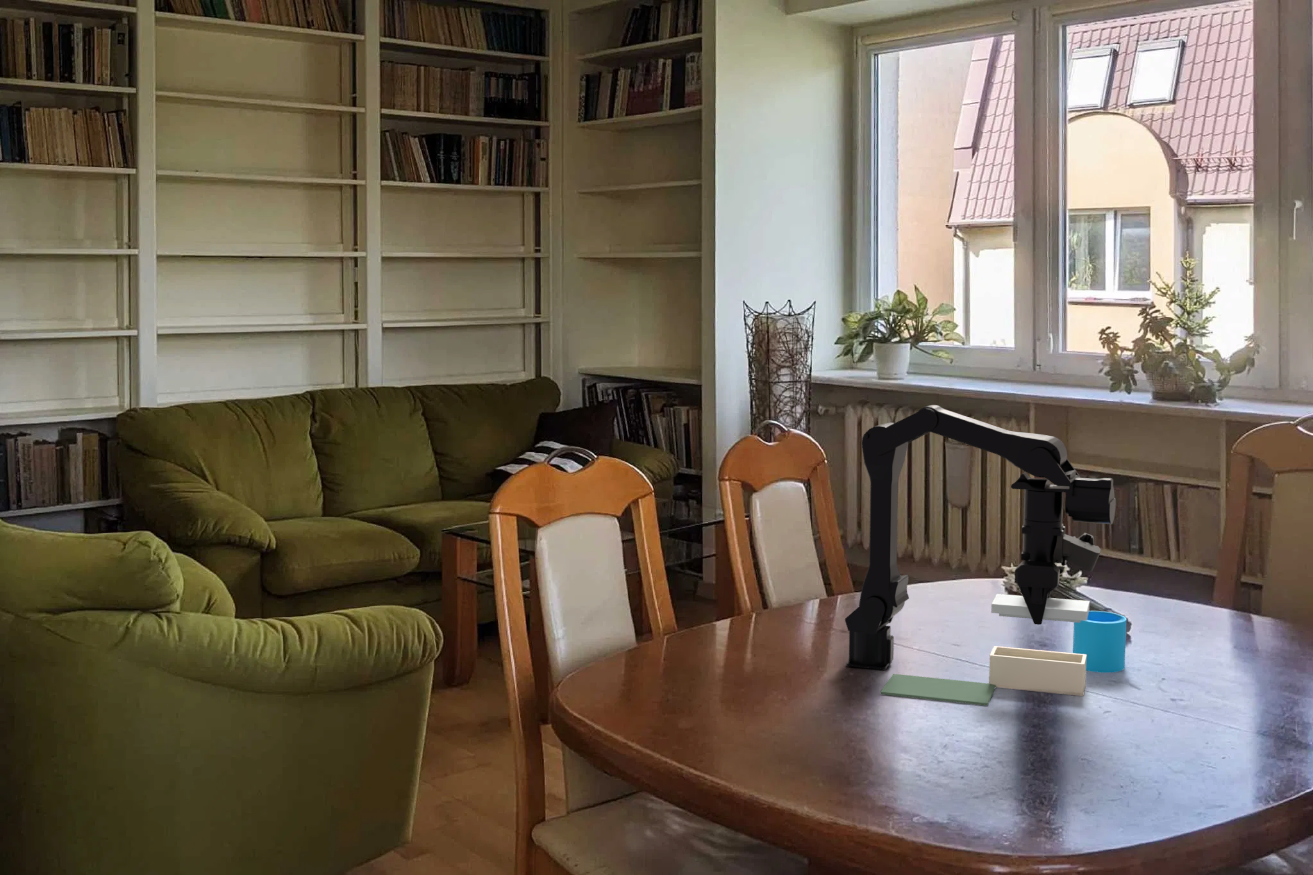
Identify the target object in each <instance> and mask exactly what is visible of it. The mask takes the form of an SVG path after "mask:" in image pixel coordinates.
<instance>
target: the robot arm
mask: <svg viewBox="0 0 1313 875" xmlns="http://www.w3.org/2000/svg"><path fill="white" fill-rule="evenodd" d="M929 433H932V434H935V435H937V436H941V437H945V438H946V439H947V438H948V439H950V440H952V441H953V440H954V441H956V442H960V443H962V444H965V445H967V446H970V447H974V448H977V449H979V450H983V451H985V452H989V453H991V454H994V455H997V456H1000V457H1001V458H1003V459H1005V460H1006V461H1008V462H1009V463H1010V464H1012V465H1013V466H1015V467H1016V468H1019V469H1020V470H1022V471H1024V472H1023V473H1021V474H1020V476H1019V477H1018V479H1017V480H1015V482H1013V483H1012V484H1010V488H1011V489H1013V490H1023V491H1024V494H1023V495H1024V496H1023V498H1024V500H1023V524H1022V527H1021V534H1022V551H1021V554H1020V558H1021V559H1020V560H1021V562H1020V563H1019V564H1018V565H1017V566H1016V568H1015V570H1014V583H1015V584H1016V585H1017V586H1018V588H1019V591H1020V593H1021V596H1023V598H1024V600H1025V603H1026V605H1027V607H1028V610H1029V612H1030V615H1031V617H1032V619H1031V620H1032V622H1033V624H1034V625H1037V626H1038V625H1042V623H1043V616H1044V611H1045V607H1046V602H1047V598H1051V593H1052V591H1054V589H1056V588H1058V586H1059V584H1060V576H1061V574H1062V573H1063V572H1064V571H1065V566H1066V564H1067V562H1068V563H1070V564H1073V565H1075V566H1078V567H1081V569H1082V570H1083V571H1087V572H1093V570H1094V568H1095V566H1096V564H1097V561H1098V559H1099V556H1100V554H1101V551H1102V549H1101V548H1100V547H1099V545H1095V538H1094V535H1092V534H1089V533H1086V532H1083V534H1081V535H1080V536H1078V537H1077V536H1075V535H1074V536H1071V535H1068V534H1066V526H1064V523H1063V516H1064V515H1063V514H1064V513H1063V512H1064V511H1065V514H1066V515H1068V517H1071V519H1072V521H1073V522H1078V523H1088V524H1089V523H1090V524H1091V523H1093V524H1103V525H1104V524H1105V525H1106V524H1107V525H1113V523H1114V520H1115V514H1116V506H1117V505H1116V503H1117V500H1116V499H1117V498H1115V488H1114V479H1113V478H1111V477H1108V478H1107V477H1103V478H1086V477H1081V476H1080V474H1079V473H1078V472H1077V470H1076V468H1075V467H1074V466H1073V465H1072V463H1071V461H1070V460H1069V459H1068V451H1067V448H1066V446H1065V444H1064V442H1063V441H1062V440H1061V439H1060V438H1058V437H1056V436H1052V435H1046V434H1040V433H1032V432H1020V431H1011V430H1008V429H1005V428H1002V427H999V426H995V425H992V424H990V423H987V422H984V421H981V420H979V419H974V418H972V417H968V416H965V415H963V414H960V413H957V412H954V411H951V410H948V409H945V408H943V407H941V406H940V405H938V404H937V405H936V404H931V405H927V406H924V407H922V408H920V409H919V410H918V411H916V412H915V413H912V414H910V415H909V416H908V415H907V417H904V418H902V419H899V420H898V421H896V422H885V423H881V424H879V425H875V426H873V427H871V428H869V429H868V430H866V432H865V433H863V435H862V438H861V450H862V457H863V462H864V466H865V469H866V472H867V474H868V477H869V480H870V482H869V483H870V486H869V487H870V492H869V493H870V495H869V496H870V497H869V498H870V499H869V501H870V502H869V543H868V544H869V553H868V554H869V558H868V560H869V561H868V569H867V571H866V574H865V576H864V581H863V583H862V586H861V591H860V598H859V601H858V602H859V604H858V607H857V608H856V609H854V610H853V611H852V612H851V613H850V614H849V615H848V616H846V617H845V619H844V622H845V625H846V627H847V631H848V660H847V662H845V667H846V666H847V667H852V668H861V669H870V670H871V669H872V670H886V669H887V668H888V667H889V666H890V665H891V664H892V662H893V660H894V649H895V648H894V647H895V646H894V645H895V644H894V642H895V638H894V636H893V635H891V631H892V630H891V625H888V624H891V623H892V621H893V619H894V616H896V615H897V614H898V613H899V612H901V611H902V610H903V608H904V607H905V602H906V601H908V600H909V599H910V597H909V594H908V583H909V578H910V577H909V575H908V574H904V575H901V573H900V570H899V568H898V564H897V560H898V559H897V558H898V557H897V556H898V555H897V553H898V549H897V548H898V507H899V506H898V504H899V502H898V500H899V496H898V494H899V479H900V476H901V472H902V469H903V467H904V464H905V460H906V455H907V449H908V445H909V444H910V443H911V442H914V441H916V440H917V439H919V438H921V437H923V436H925V435H927V434H929ZM1030 475H1031V476H1034V477H1031V476H1030ZM1064 493H1065V498H1064ZM1064 499H1065V500H1064ZM1063 509H1064V511H1063ZM1057 564H1061V565H1060V566H1059V565H1057Z"/></svg>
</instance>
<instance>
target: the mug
mask: <svg viewBox="0 0 1313 875" xmlns="http://www.w3.org/2000/svg"><path fill="white" fill-rule="evenodd" d="M1072 638H1073V640H1072V641H1073V642H1072V653H1075V654H1086V655H1087V657H1086V672H1093V673H1103V674H1106V673H1107V674H1108V673H1109V674H1110V673H1111V674H1112V673H1119V672H1122V671H1123V670H1125V669H1126V668H1125V665H1126V664H1125V663H1126V643H1127V642H1126V641H1127V640H1126V639H1127V617H1126V616H1124V615H1121V614H1119V613H1115V612H1111V611H1104V610H1101V611H1100V610H1089V613H1088V617H1087V621H1085V620H1081V622H1080V623H1077V622H1073V637H1072Z"/></svg>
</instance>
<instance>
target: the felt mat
mask: <svg viewBox="0 0 1313 875" xmlns="http://www.w3.org/2000/svg"><path fill="white" fill-rule="evenodd" d="M996 688H997V687H996V685H993V684H989V682H988V683H987V682H977V681H969V680H958V679H950V678H949V679H948V678H939V677H930V676H928V677H927V676H919V675H910V674H909V675H908V674H899V673H892V675H891V676H890V677H889V679H888V680H887V681H886V683H885V685H884V686H883V687H882V689H881V690H880V695H881V696H882V695H884V696H893V697H902V698H913V699H919V700H920V699H923V700H931V701H939V702H949V703H957V704H968V705H975V706H985V707H988V706H989V703H990V701H991V699H992V696H993V694H994V691H995V690H996Z"/></svg>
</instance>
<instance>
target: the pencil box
mask: <svg viewBox="0 0 1313 875" xmlns="http://www.w3.org/2000/svg"><path fill="white" fill-rule="evenodd" d="M1086 657H1087V655H1086V654H1075V653H1073V652H1064V651H1063V652H1062V651H1053V650H1041V649H1032V648H1031V649H1029V648H1021V647H1020V648H1018V647H1009V646H997V645H994V646H993V647H992V649H991V652H990V654H989V670H988V671H989V672H988V675H989V676H988V683H989V684H993V685H996V687H995V688H999V689H1000V688H1001V689H1009V690H1018V691H1019V690H1020V691H1029V692H1039V693H1049V694H1058V695H1059V694H1060V695H1065V696H1067V695H1068V696H1077V697H1084V695H1085V690H1086V682H1087V681H1086V679H1087V677H1086V676H1087V671H1086Z"/></svg>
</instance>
